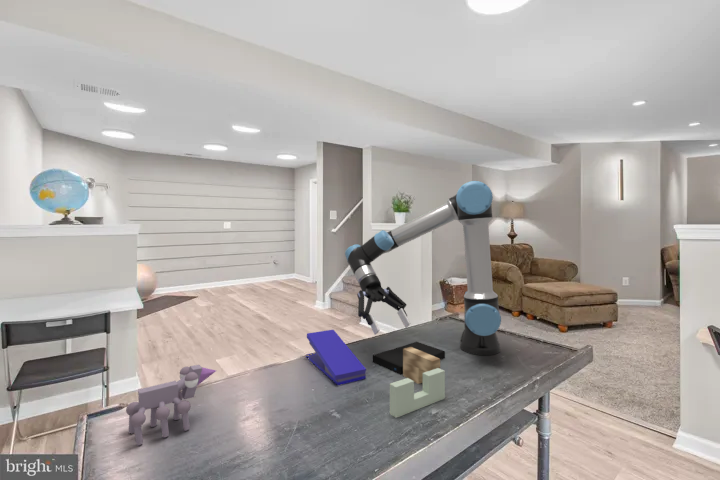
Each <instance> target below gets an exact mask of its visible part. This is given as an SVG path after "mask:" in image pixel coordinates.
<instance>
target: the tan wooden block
mask: <svg viewBox="0 0 720 480" xmlns="http://www.w3.org/2000/svg"><path fill="white" fill-rule="evenodd" d="M436 368H440V369H441V360H440V358H437V357H435V356H432V355H430V354H427V353H425V352H423V351H420V350H418V349H415V348H413V347H408V348H404V349H403V374H402V376H403V377H404V378H405V379H406V378H409V379H411V380H413V381H414V384H417V385H419V384H423V373H424V372H427V371H430V370H433V369H436Z"/></svg>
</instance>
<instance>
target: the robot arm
mask: <svg viewBox="0 0 720 480" xmlns="http://www.w3.org/2000/svg"><path fill="white" fill-rule="evenodd" d="M493 199H494V197H493V191H492V190H491V188H490V187H489V186H488V184H486V183H484V182H482V181H478V180H471V181H467V182H465V183H464V184H462V185H461V186H460V187H459V188H458V190H457V192H456V194H455V195H453V196H450V198H447V201H446V202H445V203H443V204H442V205H439V206H437V207H435V208H433V209H431V210H430V211H426V212H425V213H423V214H422V215H420V216H417V217H415V218H414V219H411V220H409V221H407V222H405V223H403V224H401V225H399V226H397V227H395V228H393V229H392V230H389V231H386V230H380V231H379V232H376V233H375V234H374V235H373V236H372V237H371V238H369V239H368V240H366V242H364V243H363V244H362V245H360V244H358V243H357V244H353V245H351V246H348V248H347V249H345V253H344V257H345V258H346V260H347V264H348V265H349V268H350V269H351V271H352V273H353V275H354V276H355V280H356V281H357V283H358V284H359V287H360V290H359V291H358V293H357V298H358V307H357V308H358V309H357V311H358V312H357V313H358V314H357V315H358V317H360V318H362V319H364V320H365V321H366V323H367V325H368V326H370V328H371V330H372V332H373V334H374V335H378V333H379V332H380V330H381V329H380V327H379V325H378V324H377V323H378V322H377V321H376V319H375V318H374V315H373V313H370V311H371V309H372V306H373V303H377V302H382V303H385V304H387V305H388V306H390V307H392V309H395V310H397V313H396V314H397V315H398V317H399V319H400V320H401V322H402V324H403V326H404V328H405V329H407V328H408V327H409V326H410V325H411V322H410V319H409V318H408V313H406V310H405V308H406V307H407V303H406V302H405V301H403V299H401V298H400V297H399V296H398V295H397V294H396V293H395V292H393V290H392V289H391V288H390V286H387V287H386V288H383V287H382V283H381V280H380V279H379V277H378V276H377V273H376V271H375V269H374V267H373V266H372V264H371V263H372V262H373V261H375V260H376V259H378V258H379V257H381V256H382V255H383V254H386V253H389V252H392V251H393V250H395V249H397V248H399V247H402V246H403V245H405V244H406V243H409V242H411V241H414V240H415V239H418V238H420V237H421V236H424V235H426V234H428V233H430V232H432V231H434V230H436V229H439V228H440V227H443V226H445V225H446V224H449V223H451V222H453V221H458V222H459V223H460V224H461V225H462V227H463V228H462V229H463V230H462V231H463V242H464V256H465V257H464V259H465V270H466V284H467V285H466V286H467V290H466V291H465V293H464V295H463V305H464V314H463V316H464V317H463V318H464V328H463V332H462V334H461V337H460V340H459V349H460V350H462V351H463V352H466V353H469V354H472V355H477V356H479V355H480V356H494V355H497V354H499V353H500V352H501V344H500V343H499V342H500V341H499V339H498V335H497V331H498V330H499V329H500V326H501V323H502V316H501V314H500V309H499V307H500V306H499V295H498V294H497V292H495V291H494V287H493V286H494V285H493V275H492V274H493V273H492V272H493V271H492V270H493V269H492V260H491V259H492V258H491V246H490V245H491V244H490V229H489V223H490V221H492V220H493V207H492V203H493ZM365 298H367V302H366V306H365Z"/></svg>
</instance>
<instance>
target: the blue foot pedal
mask: <svg viewBox="0 0 720 480" xmlns="http://www.w3.org/2000/svg"><path fill="white" fill-rule="evenodd" d="M306 338H307V340H308V341H309V345H310V346H311V348H312V349H313V350H314V352H313V353H315V354H313V353H307V354H305V357H306V358H307V357H308V358H309V359H308V358H307V359H308V361H310V362H311V363H312V364H313V365H314V364H315V365H314V366H315V367H317V369H319V370H320V371H321V372H322V373H323V374H324V375H325V376H327V377H328V378H329V379H330V380H331V381H332V380H333V383H334V384H336V385H337V386H342V385H345V384H349V383H354V382H357V381H361V380H364V379H366V378H367V377H366V373H367V372H366V371H367V368H366V367H365V365H363V364H362V362H361V361H360V360H359V359H358V358H357V356H356V354H354V352H353V351H352V349H350V347H348V345H347V344H346V342H344V340H343V339H342V338H341V337H340V335H339V334H338V333H337V332H336V331H335V329H327V330H322V331H321V330H320V331H315V332H307V333H306ZM310 354H312V355H310ZM306 355H309V356H306ZM341 384H342V385H341Z"/></svg>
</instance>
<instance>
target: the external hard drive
mask: <svg viewBox="0 0 720 480" xmlns="http://www.w3.org/2000/svg"><path fill="white" fill-rule="evenodd" d="M408 347H413V348H415V349H418V350H420V351H423V352H425V353H427V354H430V355H432V356H435V357H437V358H440V361H442V360H444V359H445V358H446V352H445V350H442V349H440V348H436V347H434V346H430V345H429V344H425V343H421V342H419V341H415V342H410V343H408V344H405V345H401V346H398V347H395V348H392V349H388V350H386V351H382V352H379V353H375V354H372V363H374V364H376V365H377V366H380V367H382V368H385V369H387V370H389V371H391V372H393V373H395V374H398V375H400V376H403V349H404V348H408Z"/></svg>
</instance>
